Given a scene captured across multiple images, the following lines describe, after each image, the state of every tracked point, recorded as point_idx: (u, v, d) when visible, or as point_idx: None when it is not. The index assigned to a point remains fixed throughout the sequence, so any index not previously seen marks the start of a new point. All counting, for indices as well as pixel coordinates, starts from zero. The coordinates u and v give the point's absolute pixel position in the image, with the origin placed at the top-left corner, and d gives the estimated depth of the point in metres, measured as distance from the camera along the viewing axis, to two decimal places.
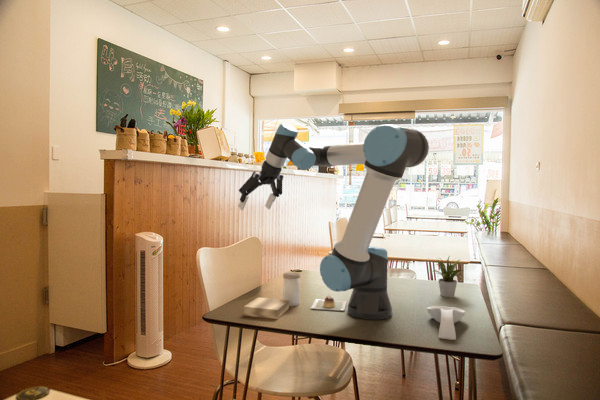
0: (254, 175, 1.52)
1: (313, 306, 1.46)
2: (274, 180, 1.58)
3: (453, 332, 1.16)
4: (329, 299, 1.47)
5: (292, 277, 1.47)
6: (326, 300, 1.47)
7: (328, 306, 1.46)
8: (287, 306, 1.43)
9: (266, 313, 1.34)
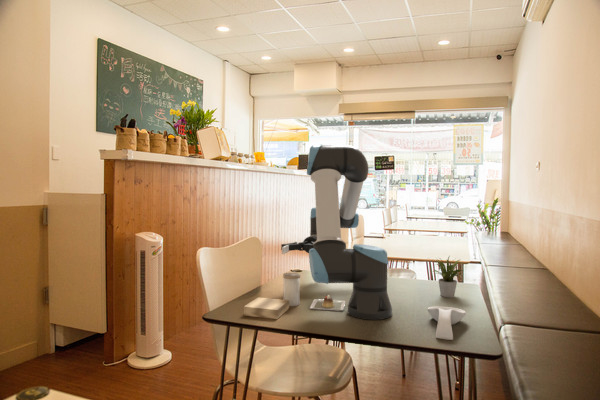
0: None
1: (312, 306, 1.46)
2: (314, 242, 1.72)
3: (450, 332, 1.16)
4: (328, 299, 1.47)
5: (292, 277, 1.47)
6: (325, 300, 1.47)
7: (327, 306, 1.46)
8: (287, 306, 1.43)
9: (266, 313, 1.34)
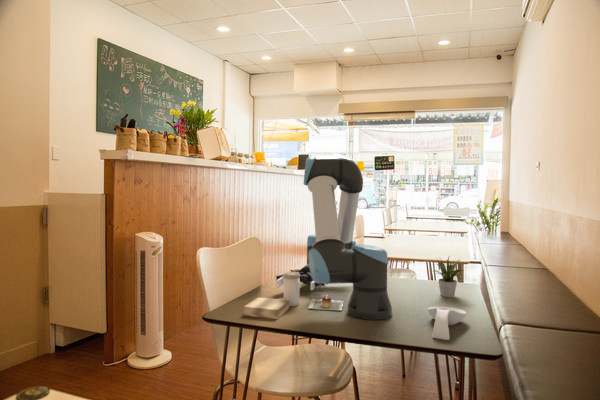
0: None
1: (310, 306, 1.46)
2: (310, 273, 1.68)
3: (447, 332, 1.15)
4: (326, 299, 1.47)
5: (292, 277, 1.47)
6: (323, 300, 1.47)
7: (325, 306, 1.46)
8: (287, 306, 1.43)
9: (266, 313, 1.34)
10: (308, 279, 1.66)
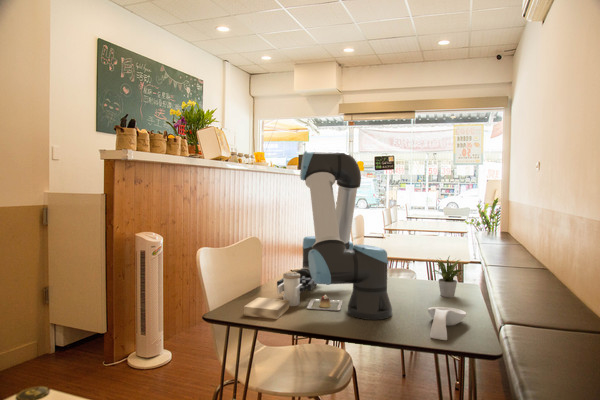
0: None
1: (309, 306, 1.46)
2: (305, 276, 1.60)
3: (444, 332, 1.15)
4: (325, 299, 1.47)
5: (292, 277, 1.47)
6: (322, 300, 1.47)
7: (324, 306, 1.46)
8: (287, 306, 1.43)
9: (266, 313, 1.34)
10: (301, 283, 1.58)
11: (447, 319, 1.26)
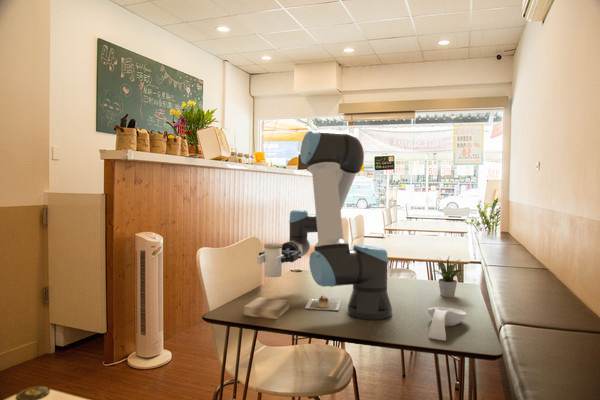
0: None
1: (307, 306, 1.46)
2: (289, 249, 1.53)
3: (443, 333, 1.15)
4: (323, 299, 1.47)
5: (273, 247, 1.40)
6: (320, 300, 1.47)
7: (322, 306, 1.46)
8: (287, 306, 1.43)
9: (266, 313, 1.34)
10: (285, 255, 1.52)
11: (447, 319, 1.25)
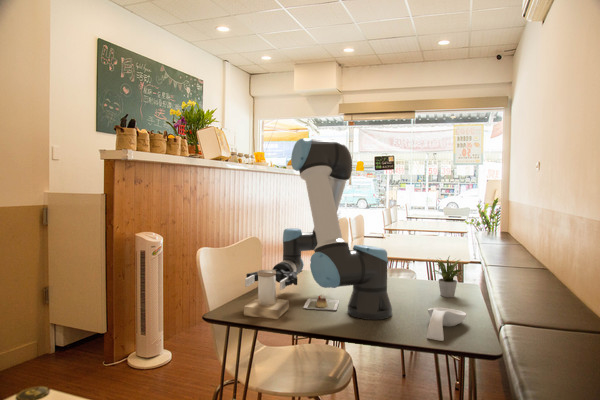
0: None
1: (305, 306, 1.46)
2: (283, 270, 1.50)
3: (441, 333, 1.15)
4: (321, 299, 1.47)
5: (267, 275, 1.36)
6: (318, 300, 1.47)
7: (320, 306, 1.46)
8: (287, 306, 1.43)
9: (266, 313, 1.34)
10: (281, 277, 1.48)
11: (446, 320, 1.25)
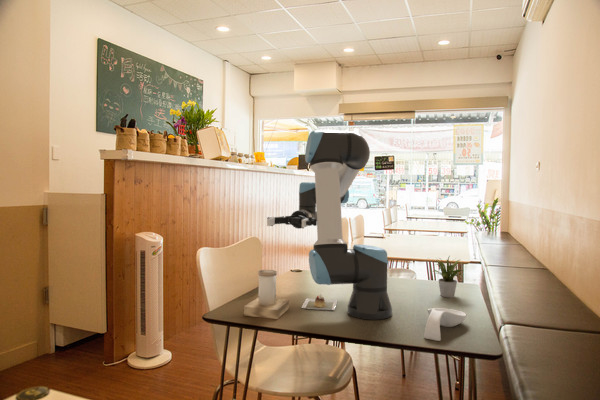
0: None
1: (303, 305, 1.46)
2: (301, 215, 1.64)
3: (438, 333, 1.15)
4: (319, 299, 1.47)
5: (268, 274, 1.37)
6: (317, 300, 1.47)
7: (318, 305, 1.47)
8: (287, 306, 1.43)
9: (266, 313, 1.34)
10: (300, 221, 1.62)
11: (445, 320, 1.25)
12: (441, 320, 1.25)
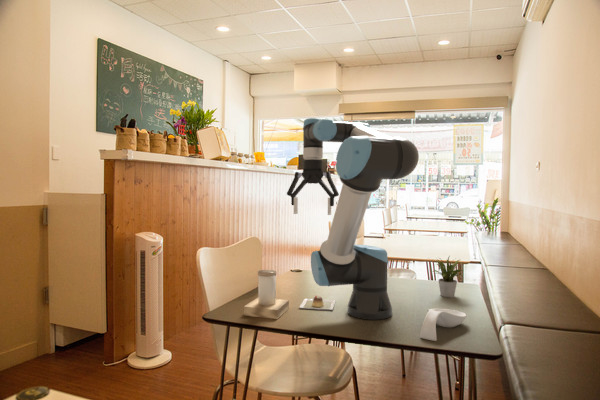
0: None
1: (302, 305, 1.47)
2: (317, 176, 1.54)
3: (433, 333, 1.15)
4: (318, 298, 1.47)
5: (267, 274, 1.37)
6: (315, 299, 1.48)
7: (317, 305, 1.47)
8: (287, 306, 1.43)
9: (266, 313, 1.34)
10: None
11: (443, 320, 1.24)
12: (440, 320, 1.25)
